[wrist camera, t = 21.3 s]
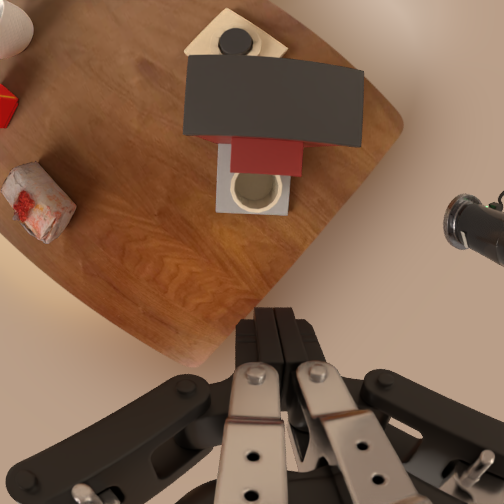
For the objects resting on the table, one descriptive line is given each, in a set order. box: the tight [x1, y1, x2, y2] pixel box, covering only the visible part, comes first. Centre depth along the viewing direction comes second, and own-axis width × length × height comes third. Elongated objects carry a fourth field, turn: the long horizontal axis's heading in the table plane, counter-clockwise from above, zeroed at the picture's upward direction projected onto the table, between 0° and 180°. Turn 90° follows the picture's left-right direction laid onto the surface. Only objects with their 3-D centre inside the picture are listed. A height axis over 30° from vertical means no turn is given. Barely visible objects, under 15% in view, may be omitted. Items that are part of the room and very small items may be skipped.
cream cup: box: [230, 173, 282, 213], centre depth 42 cm, size 6×6×8 cm
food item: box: [1, 161, 77, 244], centre depth 41 cm, size 14×8×10 cm, turn 44°
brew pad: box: [184, 8, 288, 58], centre depth 38 cm, size 12×10×4 cm
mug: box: [0, 0, 34, 59], centre depth 28 cm, size 15×11×13 cm
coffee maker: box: [183, 54, 364, 216], centre depth 33 cm, size 16×12×27 cm
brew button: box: [220, 28, 251, 55], centre depth 36 cm, size 4×4×2 cm
